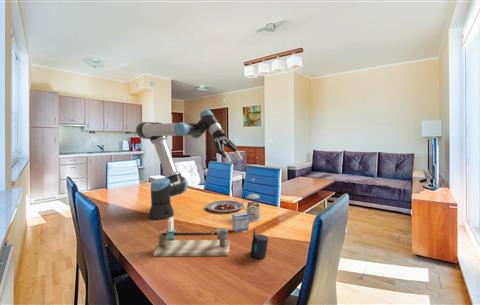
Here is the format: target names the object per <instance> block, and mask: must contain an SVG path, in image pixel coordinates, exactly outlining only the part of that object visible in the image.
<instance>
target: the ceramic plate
mask: <svg viewBox="0 0 480 305" xmlns="http://www.w3.org/2000/svg"><path fill="white" fill-rule="evenodd" d="M242 203H243V202H241V201H237V200H227V199H226V200H217V201H213V202H210V203H208V204H207V205H206V208H207V209H208V210H210V211H214V212H218V213H219V212H220V213H228V212H234V211H237V210H241V209H243V208H244V207H243V206H244V205H243V206H242Z"/></svg>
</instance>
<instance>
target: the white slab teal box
mask: <svg viewBox="0 0 480 305" xmlns="http://www.w3.org/2000/svg"><path fill="white" fill-rule="evenodd" d="M174 219H175V217H173V216H172V217H169V219H168V220H167V231H166V232H165V233H167V236H166V240H167V241H174V240H176V237H177V236H174V233H177V228H175V224H174V223H175V221H174Z"/></svg>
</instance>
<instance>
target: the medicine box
mask: <svg viewBox="0 0 480 305" xmlns="http://www.w3.org/2000/svg"><path fill="white" fill-rule="evenodd" d="M231 218H232V219H231V223H232V226H231V227H232V228H231V229H232V230H233V232H235V233H239V232H240V233H241V232H243V231H244V232H245V231H249V226H250V225H249V222H250V221H248V214H247V212H239V213H233V214H231Z"/></svg>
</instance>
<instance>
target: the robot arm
mask: <svg viewBox="0 0 480 305" xmlns="http://www.w3.org/2000/svg"><path fill="white" fill-rule="evenodd" d="M199 117H200V119H199V120H198V121H197V122H196V123H195V122H185V121H184V122H180V121H179V122H171V123H168V122H167V123H162V122H153V121H152V122H151V121H150V122H149V121H142V122H140V123H139V124H137V126H136V127H135V132H136V135H137V136H138V137H139V138H141V139H142V140H143V139H144V140H150V143H151V144H153V145H154V148H155V150H156V153H157V156H158V159H159V162H160V165H161V167H162V170H163V173H164V176H165V177H161V178H157V179H154V180H152V181H151V182H150V199H151V201H150V202H151V204H150V209H149V212H148V217H149V219H151V220H164V219H168V218H169V219H170V218H171V217H173V216H174V212H175V211H174V209H173V206H172V203H171V198H172V197H174V196H178V195H181V194H184V193H186V191H187V189H188V185H189V184H188V179H187V178H186V177H184V176H182V173H181V172H179V171H178V169H177V167H176V164H175V161H174V158H173V156H172V153H171V150H170V147H169V144H168V142H167V140H168V137H170V136H171V137H172V136H181V137H183V136H184V137H185V136H190V137H192V139H199V138H200V137H202V135H203V134H205V132H207V130H208V132H209V133H210V135H211V137H212V138H213V143H214V144H215V148H216V152H217V154H218V155H221V156H222V158H223V159H224V161H225V162H226V164H229V163H231V162H232V160H231V158H230V156H229V155H228V153H227V152H226V151H225V147H227V148H228V149H230V151H232V152H233V154H234V155H235V157H236V159H237V161H238V162H241V161H242V160H243V157H242V155H241V154H240V152H239V151H238V150H239V148H238V146H237V145H236V144H235V143H234V142H233V141H232V140H231V139H230V138H229V137H226V132H225V131H224V129H223V128H222V126H221V124H220V123H219V121H218V120H217V118H216V117H215V115H214V113H213V112H212V111H211V110H210V109H204V110H203V111H201V112H200V114H199Z"/></svg>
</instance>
